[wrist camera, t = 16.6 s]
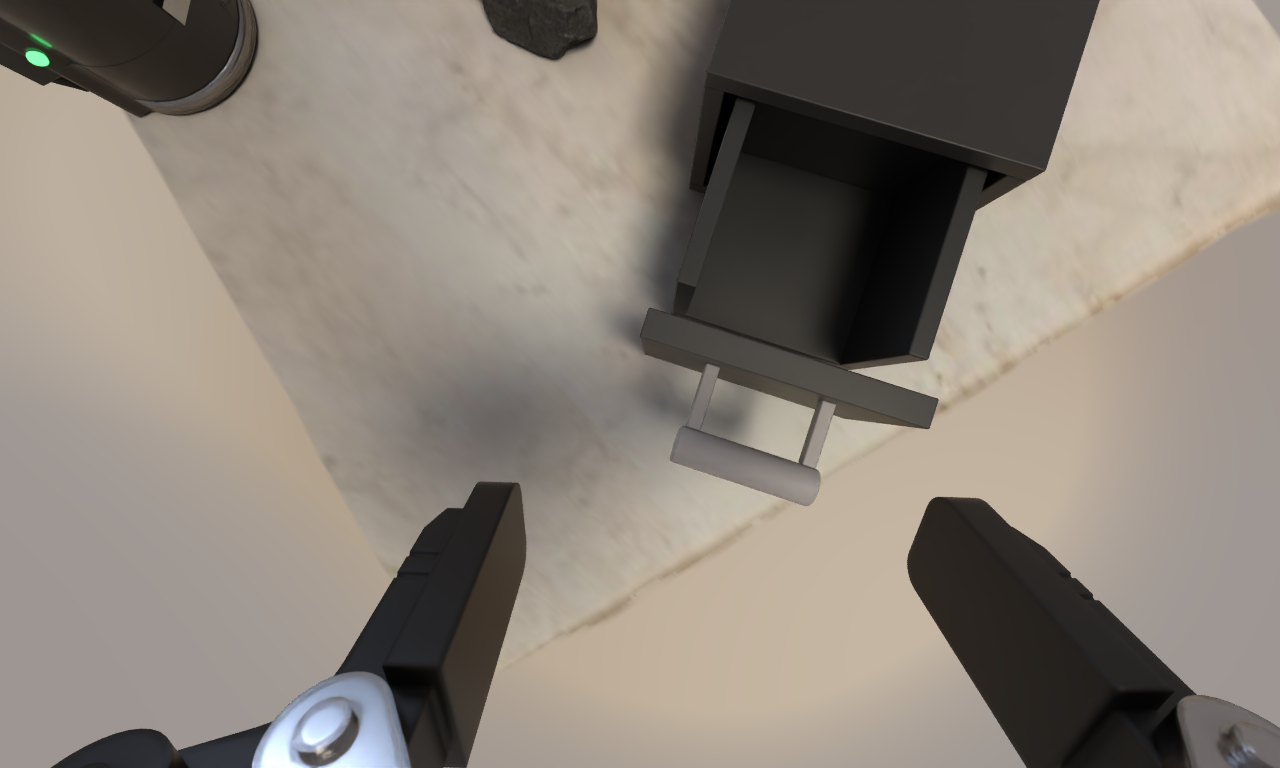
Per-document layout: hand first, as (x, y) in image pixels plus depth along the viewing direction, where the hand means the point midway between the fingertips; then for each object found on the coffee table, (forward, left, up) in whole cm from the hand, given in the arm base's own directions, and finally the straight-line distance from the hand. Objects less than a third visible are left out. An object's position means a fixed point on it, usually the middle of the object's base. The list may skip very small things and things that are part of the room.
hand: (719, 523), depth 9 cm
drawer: (+7, +4, -16) cm, 18 cm away
